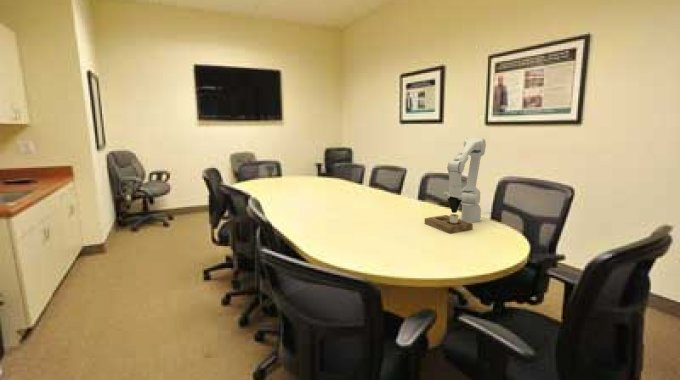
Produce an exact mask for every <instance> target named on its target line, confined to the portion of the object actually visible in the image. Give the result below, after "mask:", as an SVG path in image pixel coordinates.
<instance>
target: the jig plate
mask: <svg viewBox="0 0 680 380" xmlns="http://www.w3.org/2000/svg"><path fill="white" fill-rule="evenodd" d="M460 219H461V218H458V224H457V225H452V224H450V215H448V214H445V215H444V214H443V215H438V216H437V215H436V216H429V217H425V218H424V224H425V225H427V226H430V227H432V228H435V229H437V230H439V231H442V232H445V233H447V234H449V235H450V234H457V233H460V232H462V233H463V232H466V231H473V226H474V223H469V222H466V221H463V220H460Z"/></svg>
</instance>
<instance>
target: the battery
mask: <svg viewBox="0 0 680 380" xmlns="http://www.w3.org/2000/svg"><path fill="white" fill-rule="evenodd" d="M449 216H450V224H452V225H457V224H458V219H459V214H456V213H452V214H449Z"/></svg>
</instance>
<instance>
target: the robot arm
mask: <svg viewBox="0 0 680 380" xmlns="http://www.w3.org/2000/svg"><path fill="white" fill-rule="evenodd" d="M486 143H487V142H486V139H485V138H483V137H482V138H472V137H471V138H468V137H466V138H465V139H464V142H463V148H462V149H461V151H459V152H458V153H457V154H456V155H455V157H454V158H453V160H450V161H448V164H447V167H446V168H447V175H448V191H443V196H444V197H447V198H446V199H447V201H448V203H449V206H450V211H451V213H452V214H456V213H457V212H458V210H459V206H461V218H459V219H460V220H463V221H466V222H469V223H472V224H474V223H479V222H482V219H481V218H482V217H481V215H482V209H481V206H480V205H479V204H480V203H481V191H480V189H478V188H477V182H478V181H477V180H478V177H479V170H480V163H481V159H482V157H483V156H485V153H486V146H487V144H486ZM469 157H470V159H469ZM468 160H470V161H469V167H468V173H467V178H466V184H465V186H464V187H462V178H463V177H462V175H463V172H464V170H465V167H466V163H467V161H468ZM448 197H449V198H448Z"/></svg>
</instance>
